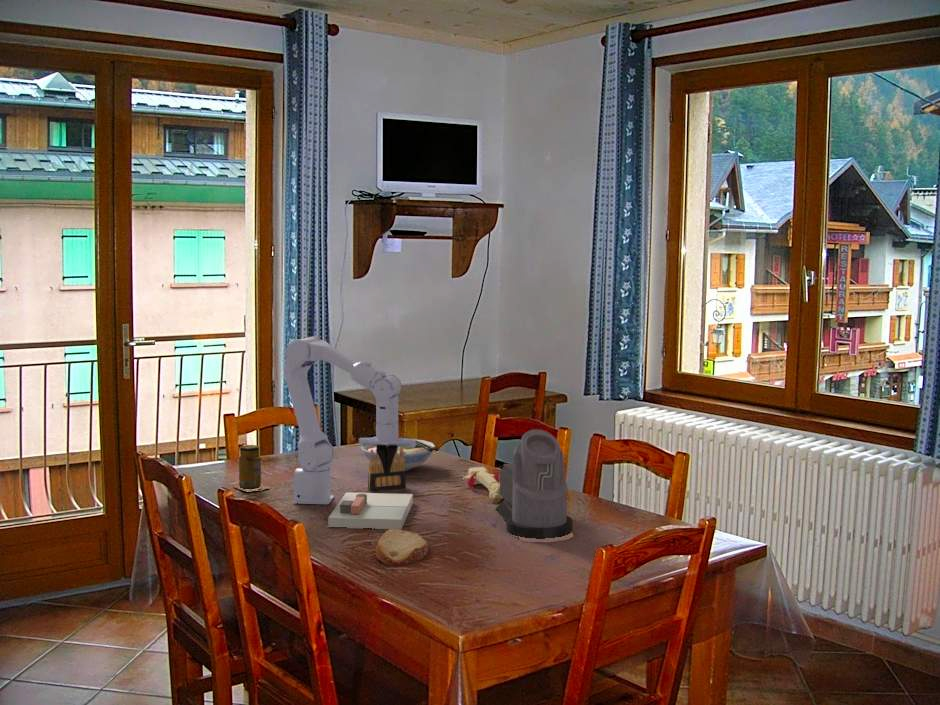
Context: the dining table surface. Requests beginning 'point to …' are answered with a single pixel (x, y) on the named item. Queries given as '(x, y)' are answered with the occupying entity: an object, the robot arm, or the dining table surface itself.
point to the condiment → (249, 467)
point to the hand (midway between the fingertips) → (387, 473)
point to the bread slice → (400, 547)
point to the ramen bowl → (408, 453)
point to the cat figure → (485, 481)
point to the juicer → (535, 489)
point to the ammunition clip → (386, 481)
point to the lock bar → (358, 503)
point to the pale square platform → (372, 511)
